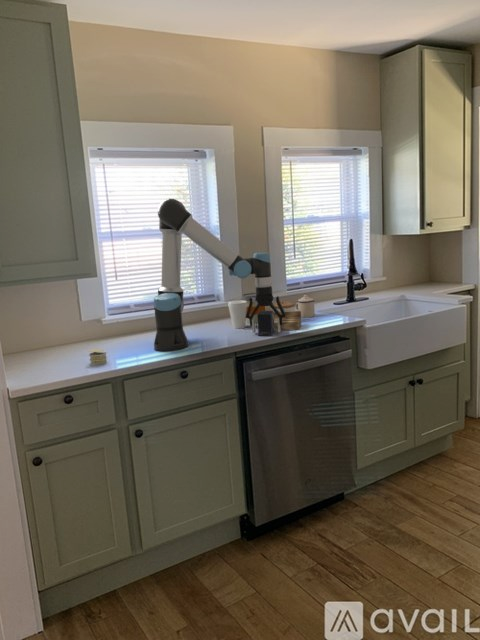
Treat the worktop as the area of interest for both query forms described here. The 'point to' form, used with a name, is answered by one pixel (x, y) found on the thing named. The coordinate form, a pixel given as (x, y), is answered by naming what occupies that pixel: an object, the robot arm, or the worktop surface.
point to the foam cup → (238, 313)
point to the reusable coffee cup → (247, 298)
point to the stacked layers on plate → (98, 356)
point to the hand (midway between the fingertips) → (266, 332)
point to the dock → (288, 321)
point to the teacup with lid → (306, 307)
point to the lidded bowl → (285, 306)
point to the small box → (265, 323)
